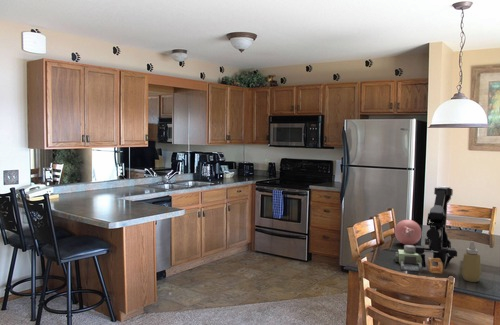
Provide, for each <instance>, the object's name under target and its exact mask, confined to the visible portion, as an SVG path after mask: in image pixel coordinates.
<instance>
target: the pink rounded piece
mask: <svg viewBox="0 0 500 325" xmlns="http://www.w3.org/2000/svg"><path fill="white" fill-rule="evenodd" d="M394 235H395V239H396V240H397V241H398V242H399V243H401V244H402V245H412V246H414V245H416V244H417V243H418V242H419V241H420V239H421V237H422V228H421V226H420V224H419V223H418V222H416V221H415V220H412V219H403V220H400V221H399V222H398V223H397V224H396V225H395V228H394Z"/></svg>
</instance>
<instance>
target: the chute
mask: <svg viewBox="0 0 500 325" xmlns="http://www.w3.org/2000/svg"><path fill="white" fill-rule="evenodd" d="M433 262H435V263H437V266H436V265H433ZM443 263H444V262H442V261H441V259H440V258H433V257H427V269H428V271H429V273H430V274H431V273H432V274H441V275H442V274H443V267H444V266H443V265H444V264H443Z"/></svg>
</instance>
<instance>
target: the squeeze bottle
mask: <svg viewBox="0 0 500 325" xmlns="http://www.w3.org/2000/svg"><path fill="white" fill-rule="evenodd" d="M465 250H466V252H464V254H463V259H462V264H461V265H462V266H461V274H462V277H463V280H464V281H466V282H469V283H470V282H471V283H476V282H477V283H478V282H479V280H480V277H481V275H482V264H481V255H480V254H479V250H478V249H477V248H476V245H475V241H474V240H473V241H472V240H471V241H470V244H469V247H467V248H466V249H465Z"/></svg>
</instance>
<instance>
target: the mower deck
mask: <svg viewBox="0 0 500 325" xmlns="http://www.w3.org/2000/svg"><path fill="white" fill-rule="evenodd" d="M415 246H416V245H405V244H403V249H397V250H398V251H394V262H395V263H398V264H400V260H403V263H411V264H418V261H420V262H421V265H422V266H424V264H423V260H422V258H421V256H420V255H418V253H415Z"/></svg>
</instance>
